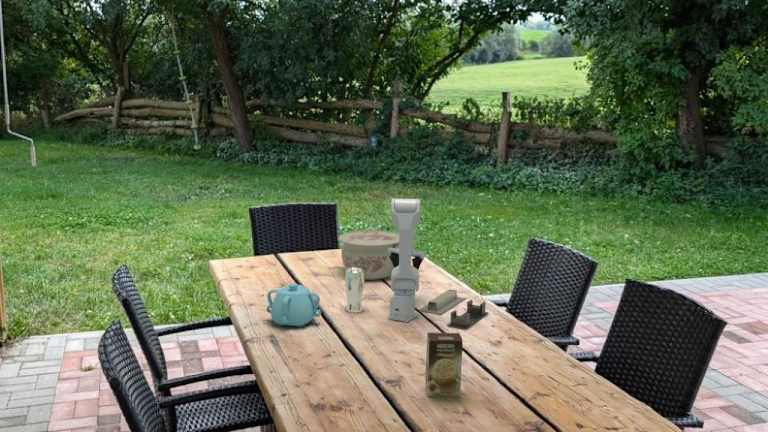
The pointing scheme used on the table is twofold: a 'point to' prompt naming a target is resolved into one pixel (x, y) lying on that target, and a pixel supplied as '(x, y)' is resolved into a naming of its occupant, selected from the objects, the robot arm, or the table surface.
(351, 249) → the chamber pot
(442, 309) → the pad
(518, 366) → the table surface
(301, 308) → the decorative pot
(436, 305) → the rail
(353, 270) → the beer glass
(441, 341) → the coffee box
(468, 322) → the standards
